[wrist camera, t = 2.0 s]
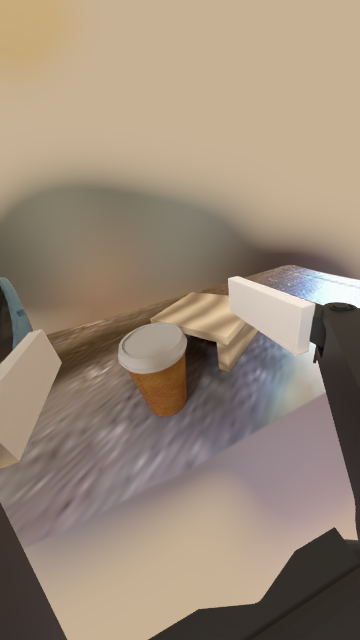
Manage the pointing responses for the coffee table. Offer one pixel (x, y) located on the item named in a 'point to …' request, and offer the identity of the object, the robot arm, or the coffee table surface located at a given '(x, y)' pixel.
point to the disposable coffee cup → (157, 365)
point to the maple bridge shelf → (211, 324)
